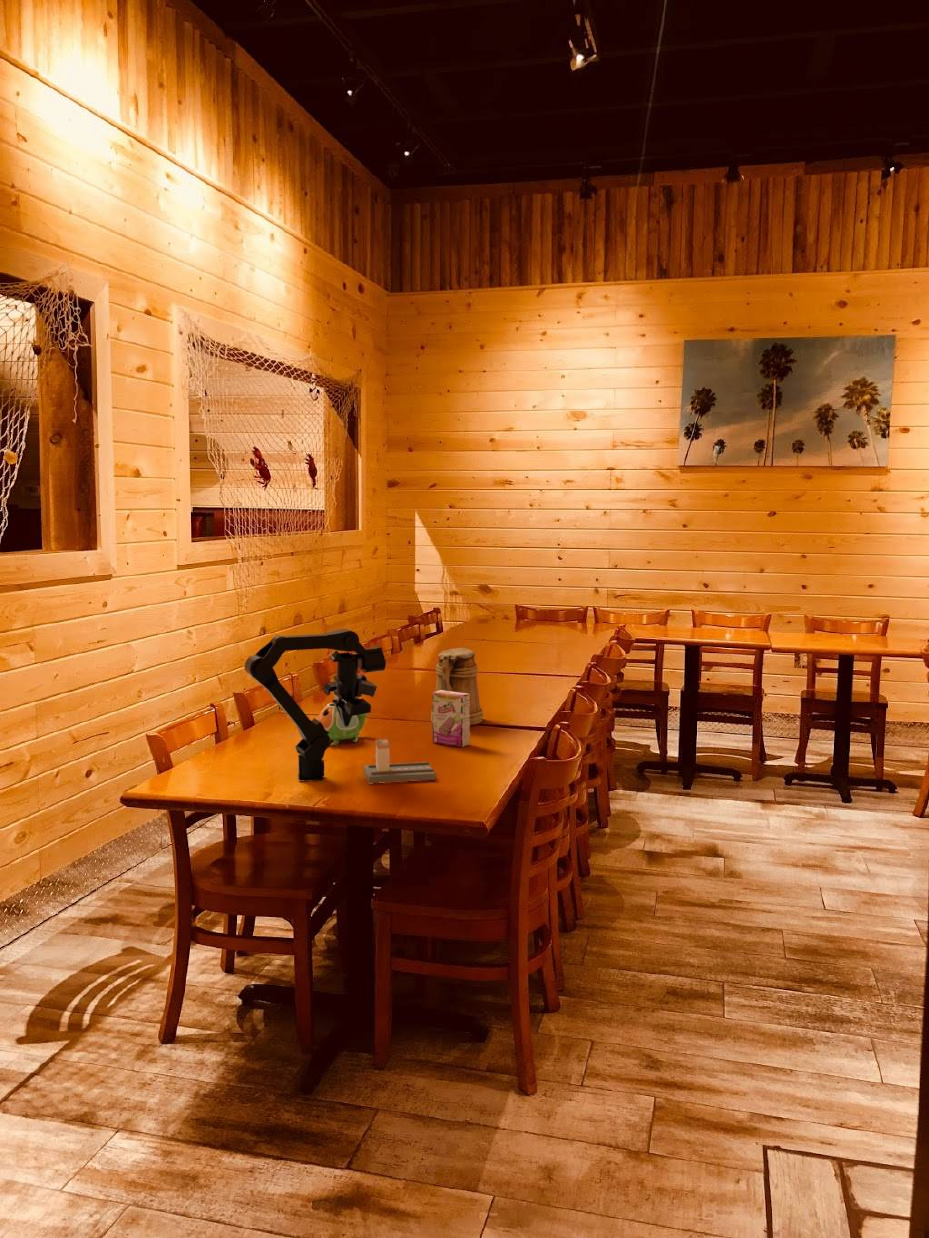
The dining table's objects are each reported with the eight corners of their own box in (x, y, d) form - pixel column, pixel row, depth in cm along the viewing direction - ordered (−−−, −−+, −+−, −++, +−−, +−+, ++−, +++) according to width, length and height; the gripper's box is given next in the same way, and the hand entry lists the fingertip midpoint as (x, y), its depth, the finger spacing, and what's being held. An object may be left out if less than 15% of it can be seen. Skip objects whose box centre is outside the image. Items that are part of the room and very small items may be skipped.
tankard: (488, 717, 344) (488, 647, 342) (472, 732, 322) (472, 657, 319) (438, 714, 349) (438, 645, 346) (420, 729, 326) (419, 655, 323)
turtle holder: (378, 738, 313) (378, 702, 311) (332, 748, 300) (331, 710, 299) (355, 732, 322) (355, 696, 320) (309, 741, 309) (308, 704, 308)
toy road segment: (368, 784, 262) (368, 774, 261) (364, 772, 273) (364, 763, 273) (434, 780, 265) (434, 771, 265) (427, 768, 277) (427, 759, 277)
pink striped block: (378, 772, 265) (378, 745, 264) (375, 766, 271) (375, 739, 270) (389, 771, 266) (389, 744, 265) (386, 765, 271) (386, 739, 271)
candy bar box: (431, 743, 306) (431, 692, 304) (440, 740, 311) (440, 689, 309) (462, 748, 301) (462, 695, 299) (470, 744, 305) (470, 692, 303)
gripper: (389, 681, 266) (387, 733, 271) (358, 659, 281) (357, 709, 286) (352, 687, 260) (350, 740, 265) (322, 664, 275) (322, 715, 280)
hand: (346, 725), depth 274 cm, fingers closed
